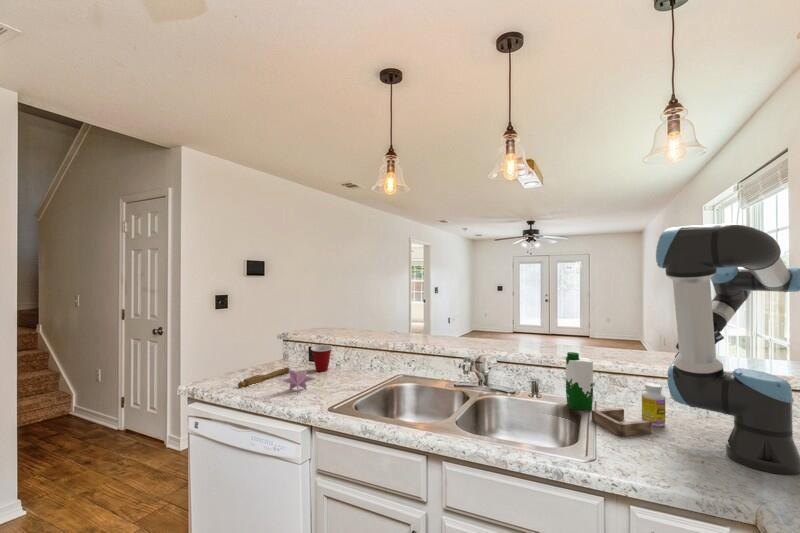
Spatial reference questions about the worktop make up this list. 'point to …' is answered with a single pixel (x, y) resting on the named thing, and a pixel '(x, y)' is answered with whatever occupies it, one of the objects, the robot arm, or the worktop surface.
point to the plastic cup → (321, 357)
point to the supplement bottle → (653, 404)
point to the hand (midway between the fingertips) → (675, 367)
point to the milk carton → (579, 382)
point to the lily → (298, 379)
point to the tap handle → (262, 377)
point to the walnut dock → (622, 429)
